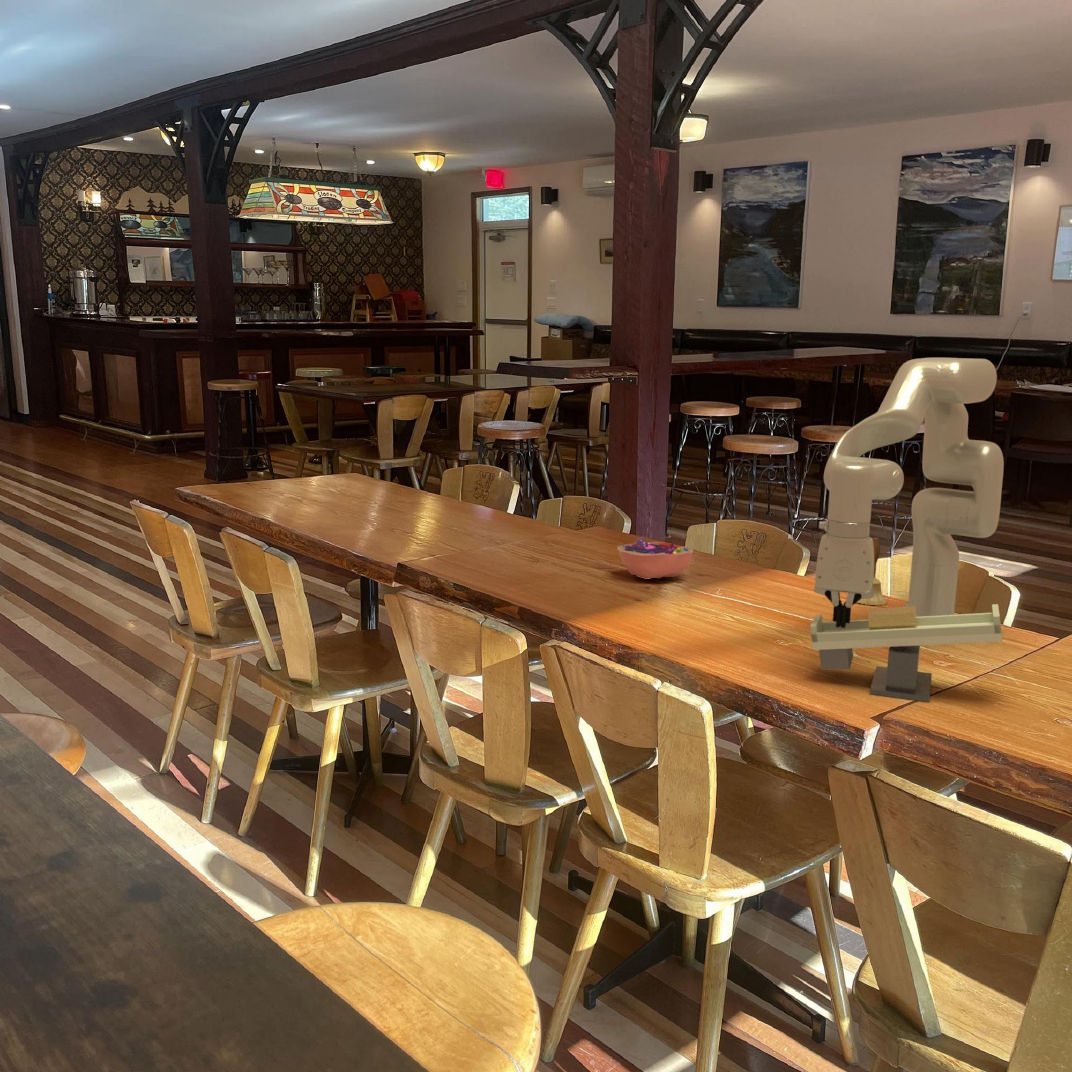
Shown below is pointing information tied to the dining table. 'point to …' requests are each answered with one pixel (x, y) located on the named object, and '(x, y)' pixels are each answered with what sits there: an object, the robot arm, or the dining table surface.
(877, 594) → the hand bell
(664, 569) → the cell model
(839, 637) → the balance beam
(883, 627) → the block
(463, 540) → the dining table surface
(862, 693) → the dining table surface
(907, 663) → the pivot stand
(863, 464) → the robot arm
